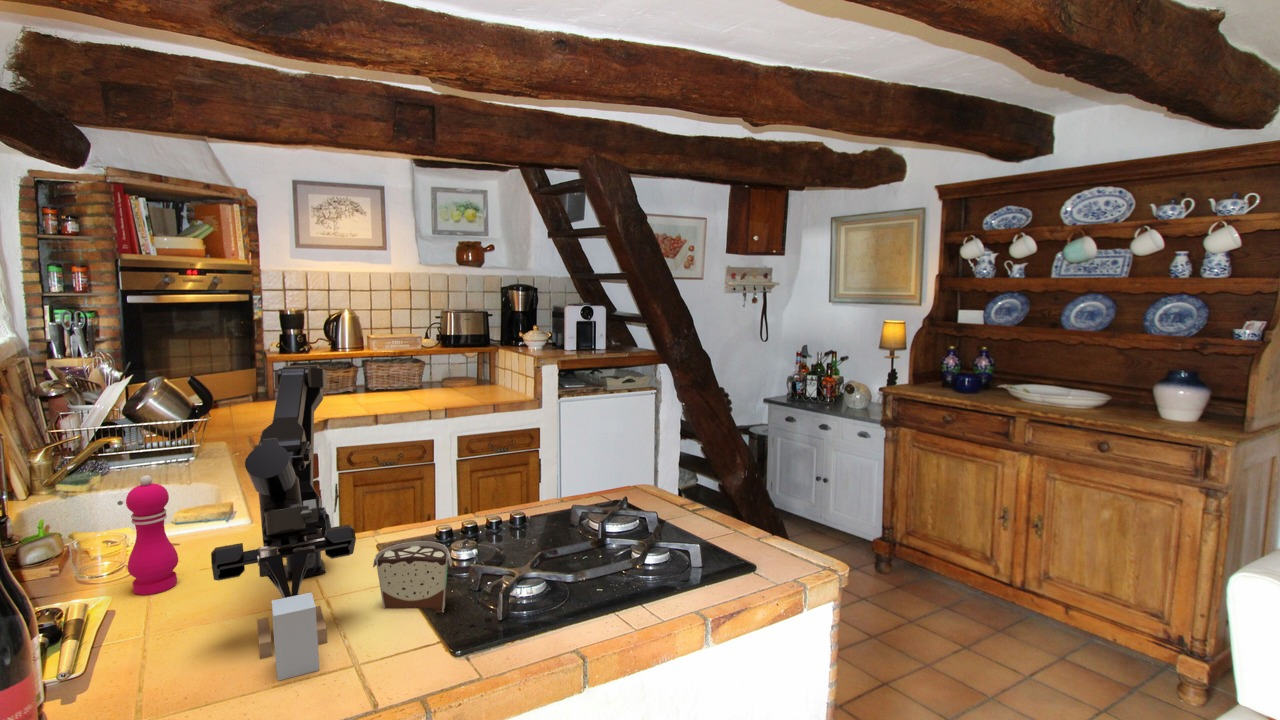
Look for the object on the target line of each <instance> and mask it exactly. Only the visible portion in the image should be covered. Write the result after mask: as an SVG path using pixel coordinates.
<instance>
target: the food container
mask: <svg viewBox="0 0 1280 720" xmlns="http://www.w3.org/2000/svg"><path fill="white" fill-rule="evenodd" d="M372 563H373V565H372V568H373V569H374V568H375V567H376V569H377V575H378V582H379V589H380V595H381V600H382V606H383V607H382V608H383V610H386V609H387V610H389V609H391V610H392V609H393V610H394V609H395V610H396V609H397V610H398V609H399V610H400V609H431V610H432V611H434V612H443V613H444V614H445V611H444V609H445V608H446V596H447V595H446V593H447V580H448V579H447V578H448V566H449V567H452V565H453V561H452V555H451V553H450V551H449V549H448V548H447V546H445V545H444V544H442V543H439V542H435V541H426V540H425V541H424V540H423V541H421V540H419V541H410V542H403V543H398V544H395V545H391V546H388V547H386V548H384V549H382V550H380V551H379V552H377V553H376V554H375V557H374V559H373V562H372ZM434 612H433V613H434Z"/></svg>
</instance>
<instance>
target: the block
mask: <svg viewBox="0 0 1280 720" xmlns="http://www.w3.org/2000/svg"><path fill="white" fill-rule="evenodd" d="M270 602H271V615H272V626H273V627H272V628H273V643H274V644H273V645H274V657H275V658H274V659H275V667H276V668H275V669H276V676H277V681H279V682H280V681H283V680H287V679H291V678H294V677H299V676H302V675H307V674H310V673H314V672H317V671H320V658H319V657H320V656H319V655H320V654H319V645H318V637H317V621H316V604H315V599H314V596H313V593H312V592H307V593H302V594H298V595H296V596H292V597H287V598H283V597H281V598H279V599H273V600H271V601H270Z"/></svg>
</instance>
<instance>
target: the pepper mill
mask: <svg viewBox="0 0 1280 720" xmlns="http://www.w3.org/2000/svg"><path fill="white" fill-rule="evenodd" d="M139 483H140V484H139V485H137V486H135V487H133V488H132V489H130V490H129V492H128V493H127V495H126V499H125V504H126V505H125V506H126V508H127V509H128V510H129V511H130V512H131V513H132V514H131V515H130V518H131V524H133V525H134V526H135V531H136V532H135V534H136V537H135V542H134V545H133V547H132V550H131V552H130V555H129V557H128V562H127V572H128V574H129V575H130V576H132V577H133V578H135V579H134V580H133V581H132V589H133V593H134V594H136V595H138V596H149V595H150V596H151V595H157V594H160V593H162V592H165V591H168V590H171V589H173V588H174V587H176V585H177V584H178V580H177V579H178V577H177V573H176V571H174V570H175V568H176V567H178V564H179V555H178V552H177V550H176V548H175V546H174V545H173V544H172V542H171V541H170V540H169V538H168V536H167V533H166V531H165V530H166V529H165V520H166V519H167V518H168V516H167V509H166V508H165V507H166V506H167V504H168V503H169V500H170V497H169V493H168V490H167V488H165V486H164V485H161V484H159V483H154V482H153V478H152V477H151V476H150V475H147V474H146V475H143V476H141V477H140V479H139Z"/></svg>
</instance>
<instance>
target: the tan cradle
mask: <svg viewBox="0 0 1280 720" xmlns="http://www.w3.org/2000/svg"><path fill="white" fill-rule="evenodd" d="M315 606H316V605H315ZM321 607H322V606H321V605H317V606H316V621H317V637H318V646H320V645H323V644H327V643H328V632H327V625H326V621H325V618H324V614H323V611H322V608H321ZM269 620H270V619H269V617H268V616H266V617H262V618H258V619H256V626H257V639H258V648H259V649H258V650H259V659H260V660H262V659H267V658H270V657H273V648H272V647H273V645H272V636H271V635H272V634H271V629H270V621H269Z"/></svg>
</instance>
